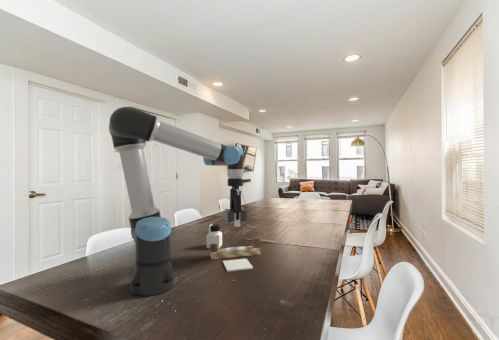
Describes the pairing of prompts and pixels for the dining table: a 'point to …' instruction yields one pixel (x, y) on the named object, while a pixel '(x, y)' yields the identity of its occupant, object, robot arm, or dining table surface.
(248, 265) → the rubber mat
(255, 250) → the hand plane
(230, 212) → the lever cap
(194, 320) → the dining table surface
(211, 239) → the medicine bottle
